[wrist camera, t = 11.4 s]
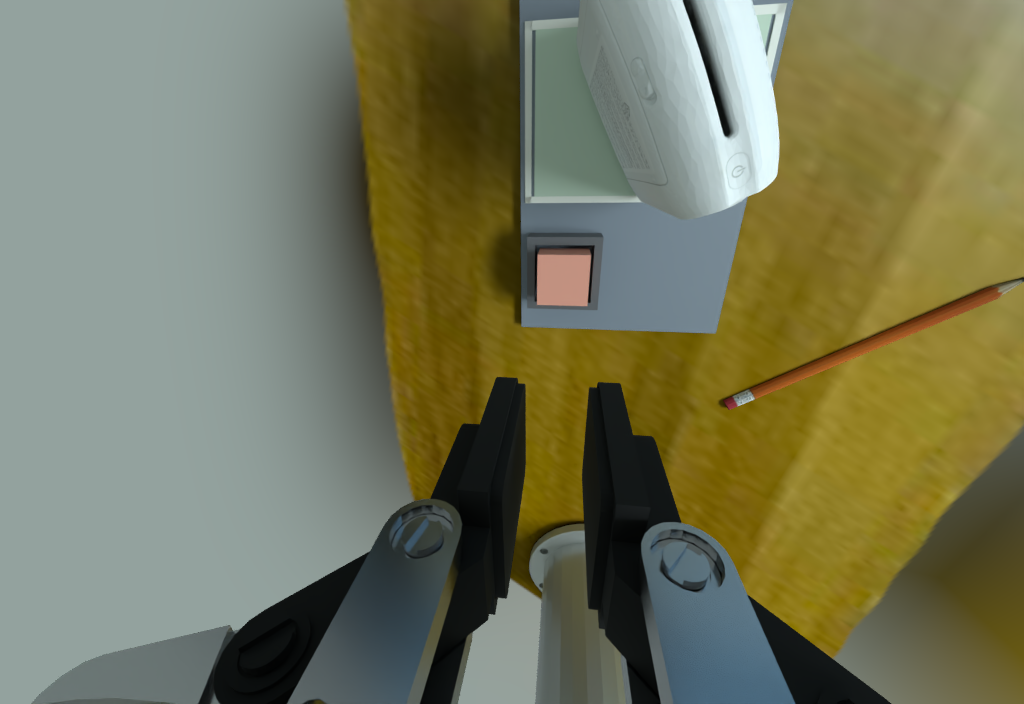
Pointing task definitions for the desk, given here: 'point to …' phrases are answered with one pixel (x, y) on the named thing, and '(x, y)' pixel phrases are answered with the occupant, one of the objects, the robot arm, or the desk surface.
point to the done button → (563, 276)
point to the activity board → (611, 196)
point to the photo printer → (683, 99)
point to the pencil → (874, 342)
